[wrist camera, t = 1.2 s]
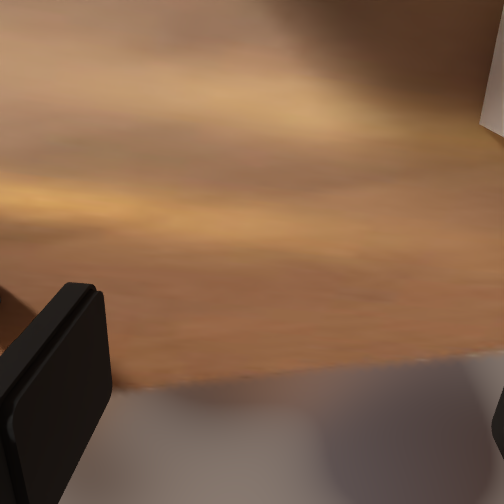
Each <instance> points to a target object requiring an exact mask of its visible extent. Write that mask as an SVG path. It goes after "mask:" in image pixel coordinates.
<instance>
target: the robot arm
mask: <svg viewBox="0 0 504 504" xmlns="http://www.w3.org/2000/svg"><path fill="white" fill-rule="evenodd" d="M111 392H112V375H111V365H110V355H109V345H108V335H107V324H106V314H105V304H104V296H103V293H102V292H101V291H96V288H95V286H94V285H93V284H84V283H72V282H68V283H66V284H65V285H64V286H63V287H62V288H61V289H60V291H59V292H58V293H57V294H56V295H55V296H54V297H53V299H52V300H51V301H50V302H49V303H48V304H47V305H46V306H45V308H44V309H43V310H42V311H41V312H40V313H39V314H38V315H37V317H36V318H35V319H34V320H33V321H32V322H31V323H30V325H29V326H28V327H27V328H26V329H25V330H24V331H23V332H22V334H21V335H20V336H19V337H18V338H17V339H16V340H14V341H13V342H12V344H11V345H10V346H9V347H8V348H7V349H6V350H5V351H4V353H3V354H2V355H1V356H0V504H58V502H59V501H60V499H61V496H62V495H63V493H64V490H65V489H66V486H67V484H68V482H69V480H70V478H71V476H72V474H73V472H74V470H75V468H76V466H77V464H78V462H79V460H80V458H81V456H82V454H83V452H84V450H85V448H86V446H87V444H88V442H89V440H90V438H91V436H92V434H93V432H94V430H95V428H96V426H97V424H98V422H99V419H100V418H101V416H102V414H103V412H104V410H105V408H106V406H107V404H108V402H109V399H110V396H111ZM491 427H492V434H493V438H494V440H495V442H496V444H497V446H498V448H499V450H500V452H501V455H502V457H503V459H504V388H503V391H502V394H501V397H500V399H499V402H498V405H497V408H496V411H495V414H494V416H493V419H492V426H491Z"/></svg>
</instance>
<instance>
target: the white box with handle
mask: <svg viewBox="0 0 504 504" xmlns="http://www.w3.org/2000/svg"><path fill="white" fill-rule="evenodd" d="M479 124H480V125H482V126H484V127H485V128H487V129H489V130H491V131H493V132H495V133H497V134H498V135H500V136H502V137H504V6H503V11H502V16H501V20H500V25H499V30H498V35H497V40H496V45H495V49H494V54H493V59H492V64H491V69H490V74H489V78H488V83H487V88H486V93H485V98H484V103H483V107H482V112H481V117H480V122H479Z"/></svg>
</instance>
